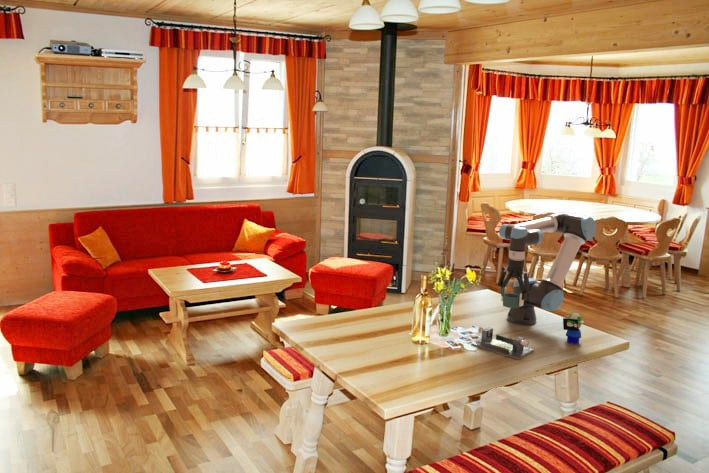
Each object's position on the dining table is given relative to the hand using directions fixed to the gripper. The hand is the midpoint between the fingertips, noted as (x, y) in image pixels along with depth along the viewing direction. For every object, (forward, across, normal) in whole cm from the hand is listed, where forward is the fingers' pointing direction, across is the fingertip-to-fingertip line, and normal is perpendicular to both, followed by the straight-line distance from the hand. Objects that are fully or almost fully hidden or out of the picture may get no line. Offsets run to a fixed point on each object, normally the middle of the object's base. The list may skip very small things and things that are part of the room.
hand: (512, 303), depth 305 cm
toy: (+18, +24, +19) cm, 35 cm away
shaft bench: (+18, +6, -15) cm, 24 cm away
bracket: (+1, 0, 0) cm, 1 cm away
